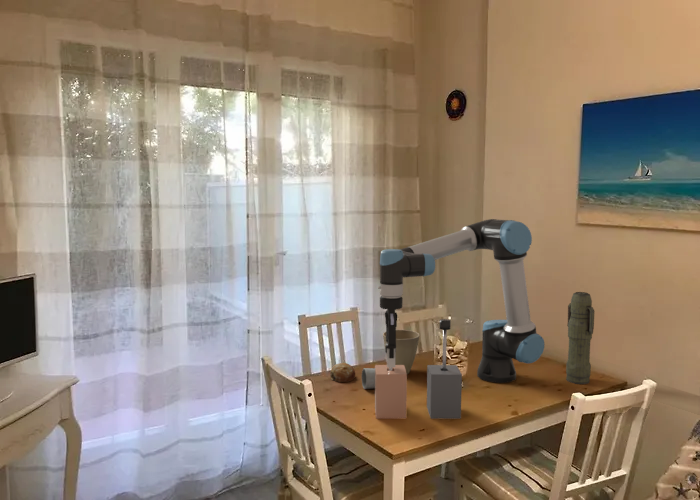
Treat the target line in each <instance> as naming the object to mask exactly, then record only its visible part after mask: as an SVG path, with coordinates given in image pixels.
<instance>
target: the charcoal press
mask: <svg viewBox="0 0 700 500" xmlns="http://www.w3.org/2000/svg"><path fill="white" fill-rule="evenodd" d="M426 381H427V382H426V408H427V409H426V410H427V413H428V415H429V418H430V419H438V420H439V419H440V420H441V419H442V420H443V419H444V420H446V419H449V420H450V419H451V420H452V419H455V420H457V419H462V390H463V389H462V386H463V385H462V384H463V383H462V381H463V374H462V373H461V370H460V369H459V367H458V366H457V364H446V371H442V364H427V368H426Z"/></svg>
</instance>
